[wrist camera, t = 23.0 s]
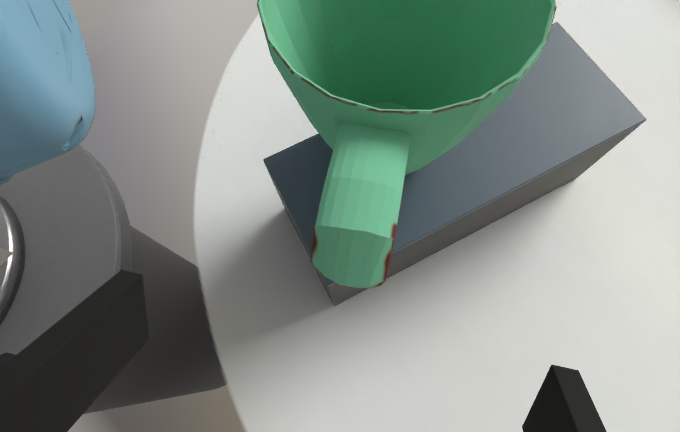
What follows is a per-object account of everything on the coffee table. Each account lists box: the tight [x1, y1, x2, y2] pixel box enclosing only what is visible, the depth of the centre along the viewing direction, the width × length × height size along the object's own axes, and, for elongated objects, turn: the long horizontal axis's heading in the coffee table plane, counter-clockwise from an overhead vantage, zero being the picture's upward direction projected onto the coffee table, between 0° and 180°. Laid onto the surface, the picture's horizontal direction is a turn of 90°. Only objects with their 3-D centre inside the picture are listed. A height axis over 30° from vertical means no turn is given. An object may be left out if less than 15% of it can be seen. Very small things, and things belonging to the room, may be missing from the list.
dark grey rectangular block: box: [264, 22, 646, 306], centre depth 27 cm, size 20×9×8 cm, turn 117°
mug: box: [257, 0, 556, 288], centre depth 18 cm, size 15×10×10 cm
